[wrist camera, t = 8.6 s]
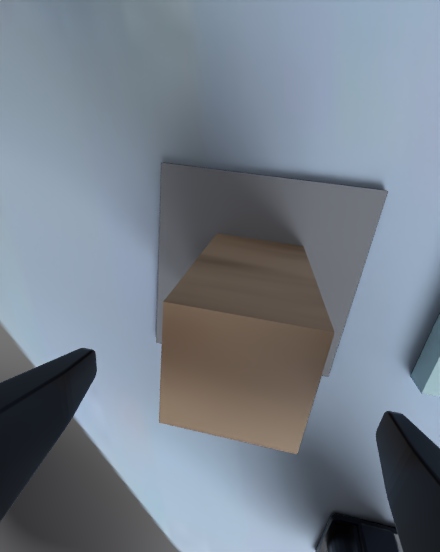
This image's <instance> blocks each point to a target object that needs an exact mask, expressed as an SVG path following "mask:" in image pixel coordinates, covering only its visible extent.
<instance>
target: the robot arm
mask: <svg viewBox="0 0 440 552" xmlns="http://www.w3.org/2000/svg"><path fill="white" fill-rule="evenodd" d="M96 372H97V366H96V354H95V351H94V350H92V349H87V348H80V349H78V350H75V351H73V352H71V353H68V354H66V355H64V356H61V357H59V358H57V359H54V360H52V361H50V362H47V363H45V364H43V365H41V366H38V367H36V368H34V369H31V370H29V371H27V372H24V373H22V374H20V375H18V376H15V377H13V378H10V379H8V380H6V381H3V382H1V383H0V522H1V520H2V519H3V517H4V516H5V515H6V513H7V512H8V510H9V509H10V508H11V506H12V504H13V503H14V502H15V500H16V499H17V497H18V496H19V495H20V493H21V492H22V490H23V489H24V487H25V486H26V484H27V483H28V482H29V480H30V479H31V477H32V476H33V474H34V473H35V471H36V470H37V469H38V467H39V466H40V464H41V463H42V461H43V460H44V459H45V457H46V456H47V454H48V453H49V451H50V450H51V448H52V447H53V445H54V444H55V443H56V441H57V440H58V438H59V437H60V435H61V434H62V432H63V431H64V430H65V428H66V427H67V425H68V423H69V422H70V421H71V419H72V417H73V416H74V414H75V412H76V410H77V409H78V407H79V405H80V403H81V401H82V400H83V398H84V396H85V394H86V392H87V391H88V389H89V387H90V385H91V384H92V382H93V380H94V378H95V376H96ZM376 441H377V446H378V452H379V457H380V462H381V468H382V473H383V478H384V484H385V489H386V493H387V498H388V501H389V505H390V509H391V512H392V516H393V519H394V523H395V526H396V529H395V528H391V527H387V526H383V525H379V524H375V523H371V522H367V521H363V520H359V519H355V518H351V517H348V516H344V515H340V514H333V515H331V517H330V519H329V521H328V524H327V526H326V528H325V531H324V533H323V535H322V538H321V540H320V542H319V545H318V547H317V549H316V552H440V448H439V447H438V446H437V445H435V444H434V443H433V442H432V441H431V440H430V439H429V438H428V437H427V436H426V435H425V434H424V433H423V432H421V431H420V430H419V429H418V428H417V427H416V426H415V425H414V424H413V423H412V422H411V421H410V420H409V419H407V418H406V417H405V416H404V415H403V414H401V413H397V412H392V411H386V412H385V413H384V415H383V417H382V419H381V422H380V424H379V426H378V428H377V431H376Z"/></svg>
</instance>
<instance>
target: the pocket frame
mask: <svg viewBox="0 0 440 552" xmlns="http://www.w3.org/2000/svg"><path fill="white" fill-rule="evenodd" d="M411 378H412V380H413V381H414V383H415V384H416V386H417V387H418V389H419V390H420V392H421V394H426V395H431V396H436V397H440V314H439V316H438V318H437V320H436V322H435V325H434V327H433V329H432V331H431V333H430V335H429V337H428V340H427V342H426V344H425V346H424V348H423V350H422V353H421V355H420V357H419V359H418V361H417V363H416V366H415V368H414V370H413V372H412V374H411Z"/></svg>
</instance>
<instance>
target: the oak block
mask: <svg viewBox="0 0 440 552" xmlns="http://www.w3.org/2000/svg"><path fill="white" fill-rule="evenodd" d="M334 333H335V332H334V329H333V326H332V324H331V321H330V318H329V315H328V313H327V310H326V307H325V304H324V301H323V299H322V296H321V293H320V290H319V288H318V285H317V282H316V279H315V277H314V274H313V271H312V268H311V266H310V263H309V260H308V257H307V254H306V252H305V249H304V246H299V245H293V244H286V243H279V242H272V241H265V240H259V239H252V238H245V237H238V236H232V235H225V234H218V233H217V234H216V235H215V236H214V238H213V239H212V240H211V242H210V243H209V244H208V245H207V247H206V248H205V249H204V250H203V252H202V253H201V254H200V256H199V257H198V258H197V259H196V261H195V262H194V263H193V264H192V266H191V267H190V268H189V270H188V271H187V272H186V273H185V275H184V276H183V277H182V278H181V280H180V281H179V282H178V284H177V285H176V286H175V287H174V289H173V290H172V291H171V292H170V294H169V295H168V296H167V298H166V299H165V300H164V301H163V323H162V352H161V381H160V410H159V423H164V424H168V425H172V426H177V427H181V428H185V429H190V430H194V431H198V432H202V433H207V434H211V435H215V436H220V437H224V438H228V439H233V440H237V441H241V442H246V443H250V444H254V445H259V446H263V447H267V448H272V449H276V450H280V451H285V452H289V453H293V454H298V451H299V447H300V444H301V441H302V438H303V434H304V431H305V428H306V424H307V421H308V418H309V415H310V411H311V408H312V405H313V402H314V398H315V395H316V392H317V389H318V385H319V382H320V379H321V376H322V372H323V369H324V366H325V363H326V359H327V356H328V353H329V350H330V346H331V343H332V340H333V337H334Z"/></svg>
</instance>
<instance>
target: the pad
mask: <svg viewBox="0 0 440 552" xmlns="http://www.w3.org/2000/svg"><path fill="white" fill-rule="evenodd" d="M387 194H388V191H386V190H379V189H371V188H363V187H354V186H346V185H338V184H330V183H322V182H314V181H306V180H298V179H290V178H282V177H274V176H266V175H258V174H250V173H242V172H234V171H226V170H218V169H210V168H201V167H193V166H185V165H177V164H169V163H161V192H160V227H159V262H158V297H157V332H156V343H161V344H162V323H163V301H164V300H165V299H166V298H167V296H168V295H169V294H170V292H171V291H172V290H173V289H174V287H175V286H176V285H177V284H178V282H179V281H180V280H181V278H182V277H183V276H184V275H185V273H186V272H187V271H188V270H189V268H190V267H191V266H192V264H193V263H194V262H195V261H196V259H197V258H198V257H199V256H200V254H201V253H202V252H203V250H204V249H205V248H206V247H207V245H208V244H209V243H210V242H211V240H212V239H213V238H214V236H215V235H216V234H217V233H218V234H225V235H232V236H238V237H245V238H252V239H259V240H265V241H272V242H279V243H286V244H293V245H299V246H304V249H305V252H306V254H307V257H308V260H309V263H310V266H311V268H312V271H313V274H314V277H315V279H316V282H317V285H318V288H319V290H320V293H321V296H322V299H323V301H324V304H325V307H326V310H327V313H328V315H329V318H330V321H331V324H332V326H333V329H334V332H335V333H334V337H333V340H332V343H331V346H330V350H329V353H328V356H327V359H326V363H325V366H324V369H323V372H322V376H326V377H328V376H329V373H330V370H331V367H332V364H333V361H334V358H335V355H336V352H337V348H338V345H339V342H340V339H341V336H342V333H343V330H344V327H345V324H346V321H347V318H348V314H349V311H350V308H351V305H352V302H353V299H354V296H355V293H356V290H357V287H358V283H359V280H360V277H361V274H362V271H363V268H364V265H365V262H366V259H367V256H368V253H369V249H370V246H371V243H372V240H373V237H374V234H375V231H376V228H377V225H378V222H379V218H380V215H381V212H382V209H383V206H384V203H385V200H386V197H387Z"/></svg>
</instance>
